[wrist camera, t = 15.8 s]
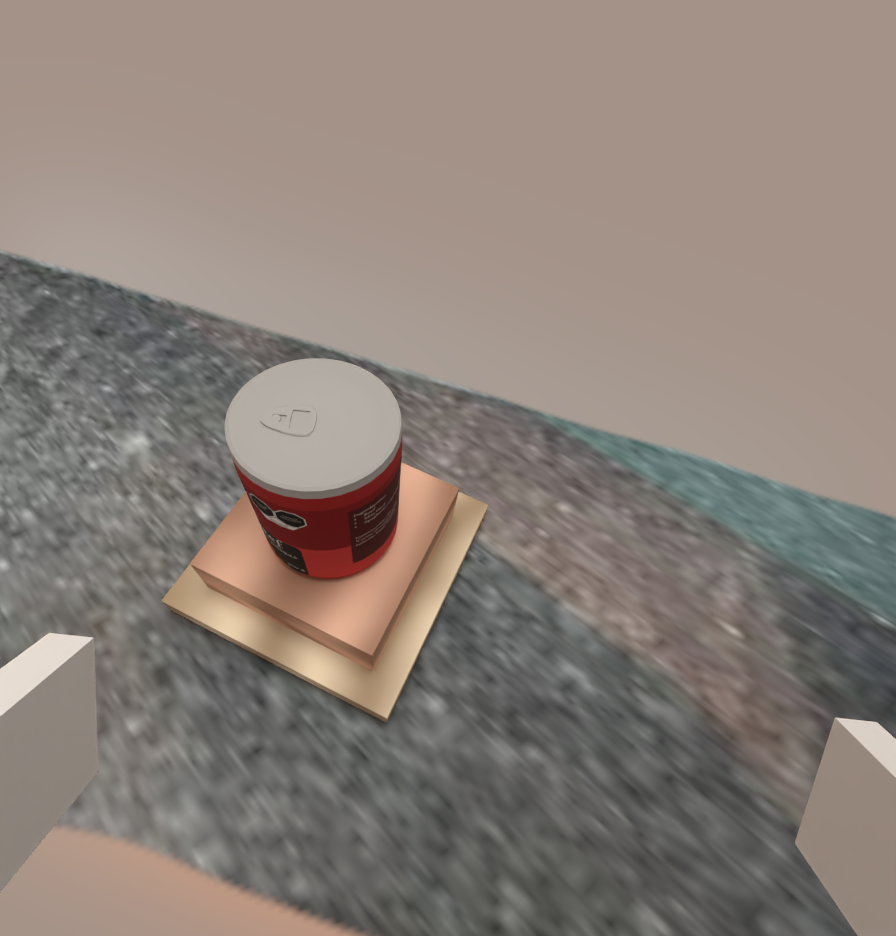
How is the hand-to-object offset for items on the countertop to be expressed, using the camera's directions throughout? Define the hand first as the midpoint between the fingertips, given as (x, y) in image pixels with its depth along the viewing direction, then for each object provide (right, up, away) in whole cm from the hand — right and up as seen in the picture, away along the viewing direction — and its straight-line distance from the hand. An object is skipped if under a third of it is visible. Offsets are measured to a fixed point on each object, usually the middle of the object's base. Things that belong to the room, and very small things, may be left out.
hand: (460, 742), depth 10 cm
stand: (-8, -2, +30) cm, 31 cm away
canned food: (-7, +1, +25) cm, 26 cm away
